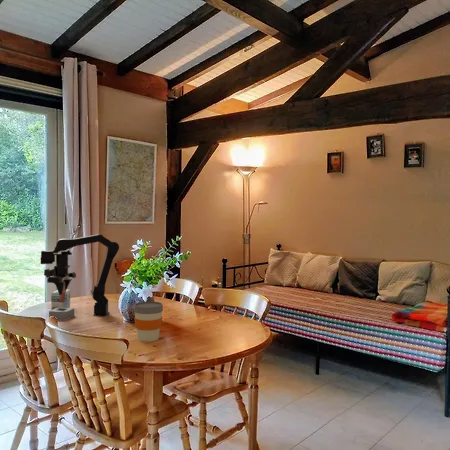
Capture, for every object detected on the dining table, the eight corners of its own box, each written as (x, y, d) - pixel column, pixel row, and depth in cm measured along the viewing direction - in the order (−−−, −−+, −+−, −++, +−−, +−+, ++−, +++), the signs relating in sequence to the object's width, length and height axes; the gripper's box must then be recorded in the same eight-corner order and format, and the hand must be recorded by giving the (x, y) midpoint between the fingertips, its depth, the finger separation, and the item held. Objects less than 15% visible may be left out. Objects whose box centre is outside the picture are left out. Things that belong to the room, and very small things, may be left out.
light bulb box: (63, 312, 233) (63, 292, 232) (50, 312, 233) (50, 292, 232) (70, 308, 243) (70, 289, 243) (58, 308, 243) (58, 288, 243)
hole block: (74, 315, 227) (74, 308, 227) (65, 320, 218) (65, 312, 218) (58, 314, 228) (58, 307, 228) (48, 319, 219) (48, 311, 219)
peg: (66, 301, 224) (66, 282, 224) (63, 302, 221) (63, 283, 221) (60, 301, 224) (60, 281, 224) (57, 302, 221) (57, 282, 221)
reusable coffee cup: (128, 337, 191) (128, 303, 191) (154, 332, 199) (154, 300, 198) (141, 344, 181) (142, 308, 181) (167, 339, 189) (168, 305, 188)
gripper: (56, 261, 232) (56, 290, 233) (37, 265, 214) (37, 296, 214) (76, 261, 231) (76, 290, 231) (58, 266, 212) (58, 298, 213)
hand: (62, 294), depth 223 cm, fingers closed on peg, 3 cm apart
